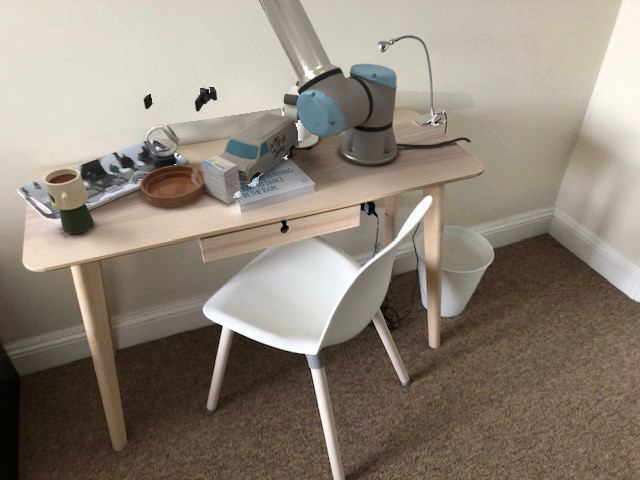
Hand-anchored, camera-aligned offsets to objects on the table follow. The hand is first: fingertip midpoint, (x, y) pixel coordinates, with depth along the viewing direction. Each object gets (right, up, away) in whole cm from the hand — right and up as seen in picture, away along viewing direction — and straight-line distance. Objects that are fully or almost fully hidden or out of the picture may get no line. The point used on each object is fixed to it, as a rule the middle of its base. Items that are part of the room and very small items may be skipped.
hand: (171, 105), depth 136 cm
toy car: (+23, -16, 0) cm, 28 cm away
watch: (-1, -16, 0) cm, 16 cm away
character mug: (-13, -33, -23) cm, 42 cm away
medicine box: (+16, -25, -12) cm, 32 cm away
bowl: (+4, -23, -11) cm, 26 cm away
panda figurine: (+33, -7, +12) cm, 35 cm away
